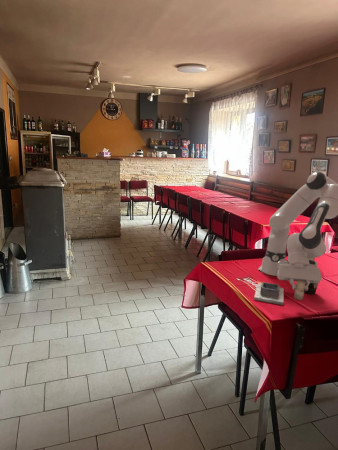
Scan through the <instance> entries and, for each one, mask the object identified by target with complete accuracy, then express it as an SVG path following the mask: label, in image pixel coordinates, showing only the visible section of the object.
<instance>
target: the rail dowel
mask: <svg viewBox="0 0 338 450" xmlns="http://www.w3.org/2000/svg"><path fill="white" fill-rule="evenodd" d="M295 282H296V283H295V285H296V287H297V288H296V289H294V295H293V298H294V299H295V300H297V301H303V299H304V295H305V293H304V290H305V284H306V282H305V281H302V280H297V281H295Z"/></svg>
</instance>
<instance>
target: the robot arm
mask: <svg viewBox="0 0 338 450" xmlns="http://www.w3.org/2000/svg"><path fill="white" fill-rule="evenodd" d="M318 198H319V199H318ZM317 199H318V203H317V205H316V207H315V208H314V209H313V212H312V213H311V215H310V217H309V220H308V222H307V224H306V225H305V226H304V227H303V228H302V230H301V231H300V232H294V233H292V234H290V227H291V224H292V223H293V222H294V221H295V220H296V219H298V217H299V216H300V215H301V214H302V213H304V211H306V210H307V209H308V208H309V206H310V205H312V204H313V203H314V202H315V201H316V200H317ZM337 216H338V183H337V182H336V181H335V180H334V179H331V178H330V177H328V176H327V175H326V174H325V173H323V172H322V171H319V170H318V171H317V170H316V171H314V172H312V173H310V174H309V175H308V177H307V178H306V181H305V184H304V185H302V186H300V188H298V189H297V191H296V192H294V194H292V195H291V197H290V198H288V199H287V200H286V201H285V203H283V204H282V206H281V207H280V208H278V209H277V210H276V211H275V212H274V214H272V215H271V216H270V217H269V223H268V224H269V227H270V231H269V236H268V240H267V241H268V242H267V247H266V249H265V250H266V251H265V255H264V257H263V258H262V259H261V260H262V262H261V265H260V266H259V267H258V268H257V269H258V271H259V270H260V272H262V273H263V274H265V275H269V276H274V277H275V276H276V277H277V279H278V280H280V281H288V282H289V284H290V285H291V288H292V290H295V289H296V288H297V287H296V283H295V282H297V280H302V281H305V282H306V284H307V285H306V286H305V290H306V291H307V290H308V285H309V284H310V283H317V284H318V285H319V283H321V281H322V274H321V269H320V267H318V266H319V263H318V262H317V261H315V260H314V261H313V260H310V259H308V258H315V259H316V258H320V257H322V256H324V254H325V253H326V251H327V247H326V243H325V241H324V239H323V237H322V232H321V231H322V230H321V229H322V227H323V225H324V222H325V221H326V220H329V219H330V220H331V219H335V218H337ZM289 234H290V235H289ZM286 256H287V257H286ZM286 258H287V259H286Z"/></svg>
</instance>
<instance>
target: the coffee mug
mask: <svg viewBox="0 0 338 450" xmlns="http://www.w3.org/2000/svg"><path fill="white" fill-rule="evenodd" d="M306 285H307V284H305V286H306ZM318 285H319V283H318V284H317V283H310V284H309V285H308V290H307V291H306V290H304V294H306V295H311V296H313V295H316V292H317V289H318Z"/></svg>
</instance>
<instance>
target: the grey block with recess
mask: <svg viewBox="0 0 338 450" xmlns="http://www.w3.org/2000/svg"><path fill="white" fill-rule="evenodd" d="M284 290H285V289H284V287H281V286H280V285H279V284H277V283H272V282H265V281H262V282H261V283H257V284H256V288H255V293H254V296H253V298H254V299H253V300H254V301H258V302H263V303H267V304H268V303H269V304H274V305H281V306H284V302H285V301H284V296H285V295H284V294H285V293H284Z"/></svg>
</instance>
